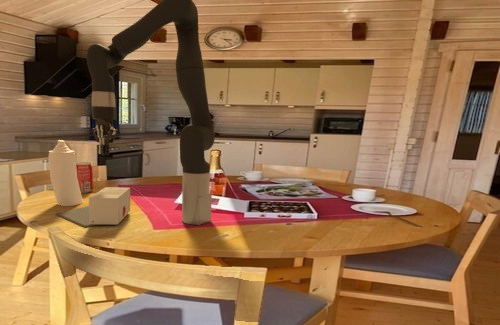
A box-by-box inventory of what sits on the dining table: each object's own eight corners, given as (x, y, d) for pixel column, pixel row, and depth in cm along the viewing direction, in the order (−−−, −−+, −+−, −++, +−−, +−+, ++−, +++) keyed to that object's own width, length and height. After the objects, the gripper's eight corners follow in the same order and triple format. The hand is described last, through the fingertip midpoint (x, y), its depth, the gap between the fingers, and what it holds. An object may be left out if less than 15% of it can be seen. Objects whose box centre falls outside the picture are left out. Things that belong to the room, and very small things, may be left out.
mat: (125, 217, 111) (125, 215, 111) (85, 227, 100) (85, 225, 100) (94, 206, 123) (94, 204, 123) (55, 214, 111) (55, 212, 111)
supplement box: (130, 211, 116) (118, 225, 101) (105, 211, 115) (88, 225, 100) (130, 187, 115) (117, 198, 100) (104, 186, 114) (88, 197, 99)
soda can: (96, 191, 146) (95, 163, 144) (81, 194, 140) (80, 165, 138) (87, 189, 150) (86, 161, 148) (72, 191, 144) (71, 163, 142)
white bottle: (81, 207, 121) (79, 141, 118) (48, 209, 117) (45, 141, 114) (84, 199, 132) (82, 139, 128) (54, 201, 128) (51, 138, 124)
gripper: (124, 106, 110) (125, 156, 112) (103, 106, 118) (105, 153, 120) (104, 105, 104) (105, 157, 106) (83, 105, 112) (85, 154, 114)
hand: (105, 155), depth 113 cm, fingers closed
